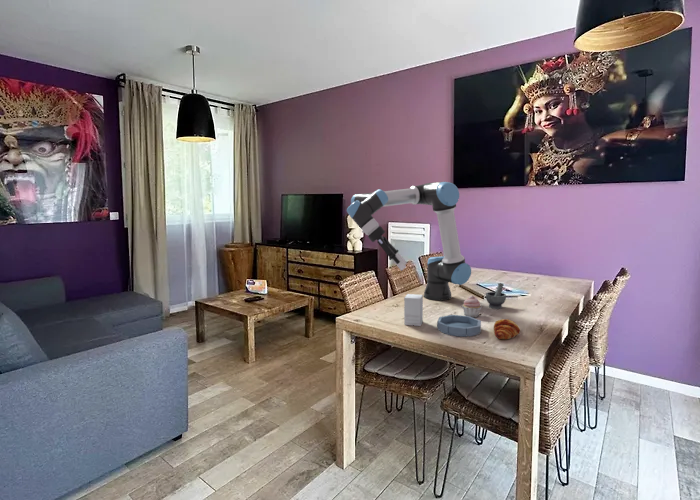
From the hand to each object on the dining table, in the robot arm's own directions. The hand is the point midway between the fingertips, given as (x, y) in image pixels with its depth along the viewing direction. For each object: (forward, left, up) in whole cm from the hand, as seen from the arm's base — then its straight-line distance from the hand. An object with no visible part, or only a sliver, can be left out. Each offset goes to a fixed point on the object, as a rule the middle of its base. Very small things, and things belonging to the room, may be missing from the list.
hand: (404, 266), depth 178 cm
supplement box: (+1, +5, -26) cm, 26 cm away
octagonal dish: (+3, +25, -25) cm, 36 cm away
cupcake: (-19, +29, -26) cm, 43 cm away
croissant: (+3, +44, -26) cm, 51 cm away
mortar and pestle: (-38, +40, -26) cm, 61 cm away
